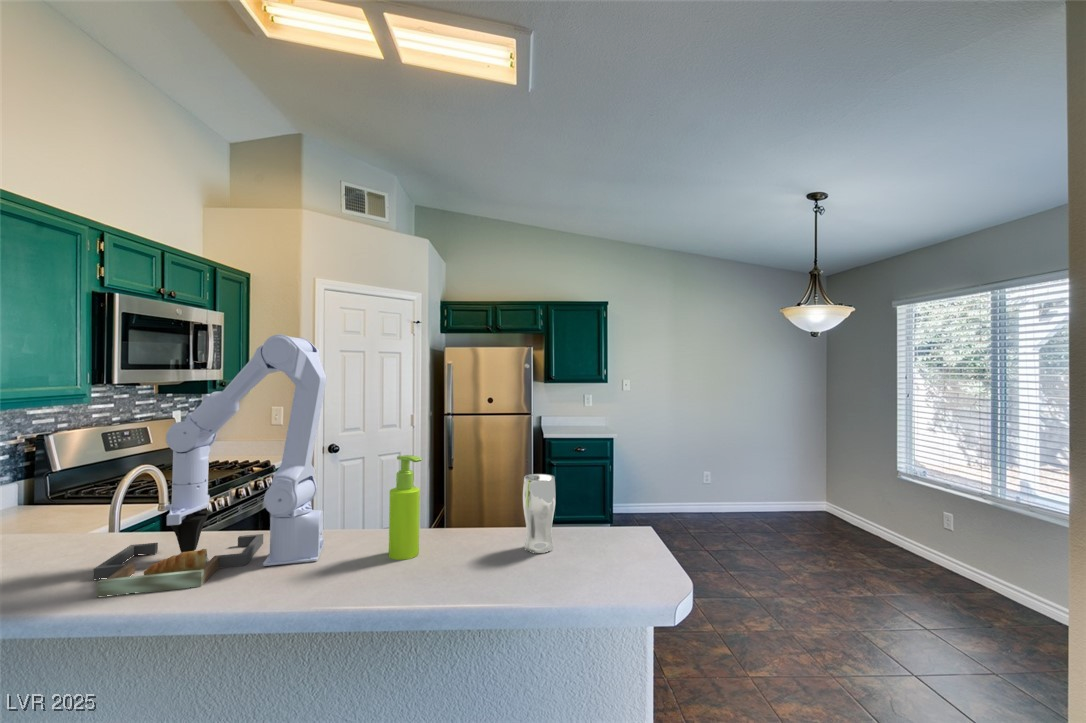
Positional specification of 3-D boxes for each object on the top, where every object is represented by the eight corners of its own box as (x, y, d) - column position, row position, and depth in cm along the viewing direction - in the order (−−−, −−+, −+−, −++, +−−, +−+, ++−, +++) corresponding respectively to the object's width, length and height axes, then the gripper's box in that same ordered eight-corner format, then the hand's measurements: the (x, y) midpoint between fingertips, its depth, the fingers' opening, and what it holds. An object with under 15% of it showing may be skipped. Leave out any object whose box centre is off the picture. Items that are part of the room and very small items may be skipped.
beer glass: (550, 556, 95) (550, 481, 95) (517, 552, 97) (518, 479, 97) (558, 544, 102) (559, 474, 102) (528, 541, 103) (528, 472, 104)
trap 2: (263, 543, 101) (263, 533, 101) (245, 565, 89) (245, 554, 89) (239, 545, 100) (239, 535, 100) (218, 567, 88) (218, 557, 88)
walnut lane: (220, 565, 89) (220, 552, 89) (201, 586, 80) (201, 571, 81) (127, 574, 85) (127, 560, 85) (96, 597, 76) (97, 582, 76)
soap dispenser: (406, 563, 91) (407, 459, 91) (382, 556, 94) (384, 456, 95) (428, 553, 96) (429, 455, 96) (405, 547, 99) (406, 452, 100)
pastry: (141, 588, 80) (142, 565, 80) (145, 574, 86) (146, 553, 86) (209, 574, 86) (209, 553, 86) (208, 562, 91) (209, 542, 91)
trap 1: (157, 552, 95) (157, 542, 95) (124, 577, 84) (124, 565, 84) (130, 554, 94) (131, 544, 94) (93, 580, 83) (93, 568, 83)
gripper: (182, 475, 99) (180, 540, 98) (147, 492, 85) (145, 568, 84) (221, 473, 101) (219, 537, 100) (193, 489, 87) (191, 563, 86)
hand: (188, 551), depth 92 cm, fingers closed
